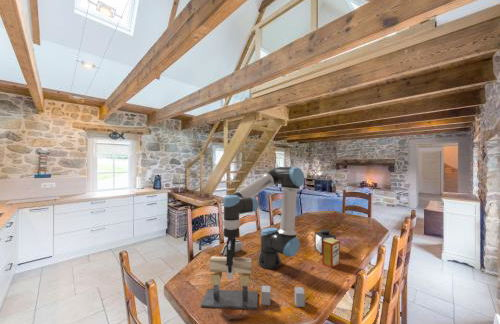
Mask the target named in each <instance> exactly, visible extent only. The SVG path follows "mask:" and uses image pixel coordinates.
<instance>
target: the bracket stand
mask: <svg viewBox="0 0 500 324" xmlns="http://www.w3.org/2000/svg"><path fill="white" fill-rule="evenodd" d="M250 276H251V273H241V274H240V276H239V278H240V281H239V282H240V283H239V285H240V287H242V290H235V289H234V290H233V289H220V288H221V287H220V284H221V281H222V279H223V272H213V273H211V274H210V285H212V286H213V289H212V288H211V289H210V288H207V289H206V291H205V294H204V296H203V298H202V301H201V303H200V307H202V308H217V309H219V308H220V309H237V310H239V309H240V310H253V311H254V310H255V311H257V310H258V298H259V296H258V295H259V291H257V290H249V286H250V281H251V280H250V279H251V277H250Z"/></svg>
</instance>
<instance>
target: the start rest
mask: <svg viewBox="0 0 500 324" xmlns="http://www.w3.org/2000/svg"><path fill="white" fill-rule="evenodd" d="M294 303H295V306H296V307H297V308H299V307H300V308H302V307H303V308H305V307H306V292H305V290H304V287H299V286H297V287H294ZM261 305H262V306H271V286H270V285H261Z"/></svg>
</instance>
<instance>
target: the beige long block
mask: <svg viewBox="0 0 500 324" xmlns="http://www.w3.org/2000/svg"><path fill="white" fill-rule="evenodd" d="M252 262H253V259H252V257H239V256H238V257H237V256H235V257H233V273H234V274H242V273H250V274H252V269H253V268H252V267H253V263H252ZM226 264H227V256H213V255H211V257H210V259H209V272H211V273H214V272H222V273H227V266H226Z"/></svg>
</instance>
